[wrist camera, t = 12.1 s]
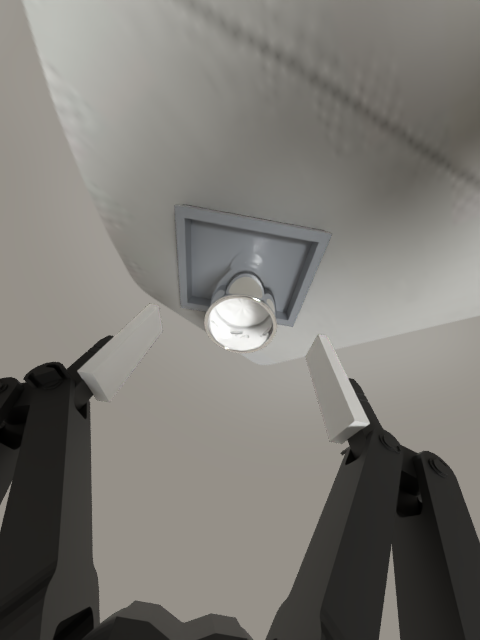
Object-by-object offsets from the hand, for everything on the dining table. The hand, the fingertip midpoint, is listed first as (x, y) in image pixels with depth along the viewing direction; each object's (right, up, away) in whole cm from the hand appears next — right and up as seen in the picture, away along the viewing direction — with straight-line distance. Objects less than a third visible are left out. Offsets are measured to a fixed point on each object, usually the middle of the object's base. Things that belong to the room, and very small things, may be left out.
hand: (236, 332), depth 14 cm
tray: (+1, +9, +14) cm, 17 cm away
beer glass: (+2, +9, +13) cm, 16 cm away
